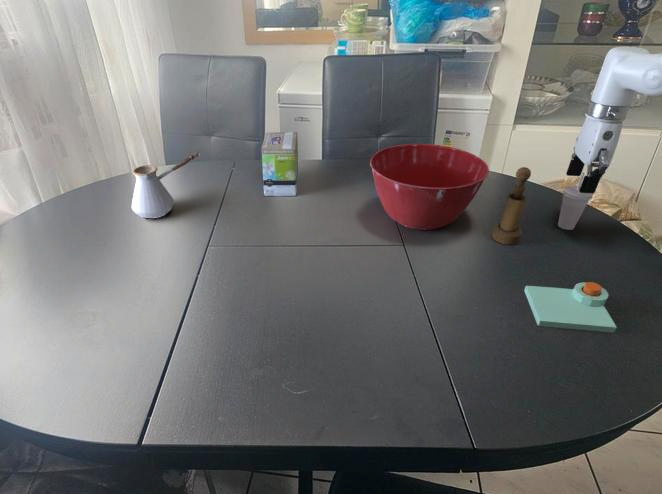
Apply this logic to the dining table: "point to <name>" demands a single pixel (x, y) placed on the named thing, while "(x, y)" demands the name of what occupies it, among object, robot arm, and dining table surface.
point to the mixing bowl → (426, 183)
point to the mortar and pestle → (513, 212)
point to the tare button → (592, 289)
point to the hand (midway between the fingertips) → (579, 183)
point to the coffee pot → (153, 191)
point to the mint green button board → (570, 308)
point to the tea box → (280, 163)
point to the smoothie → (573, 205)
